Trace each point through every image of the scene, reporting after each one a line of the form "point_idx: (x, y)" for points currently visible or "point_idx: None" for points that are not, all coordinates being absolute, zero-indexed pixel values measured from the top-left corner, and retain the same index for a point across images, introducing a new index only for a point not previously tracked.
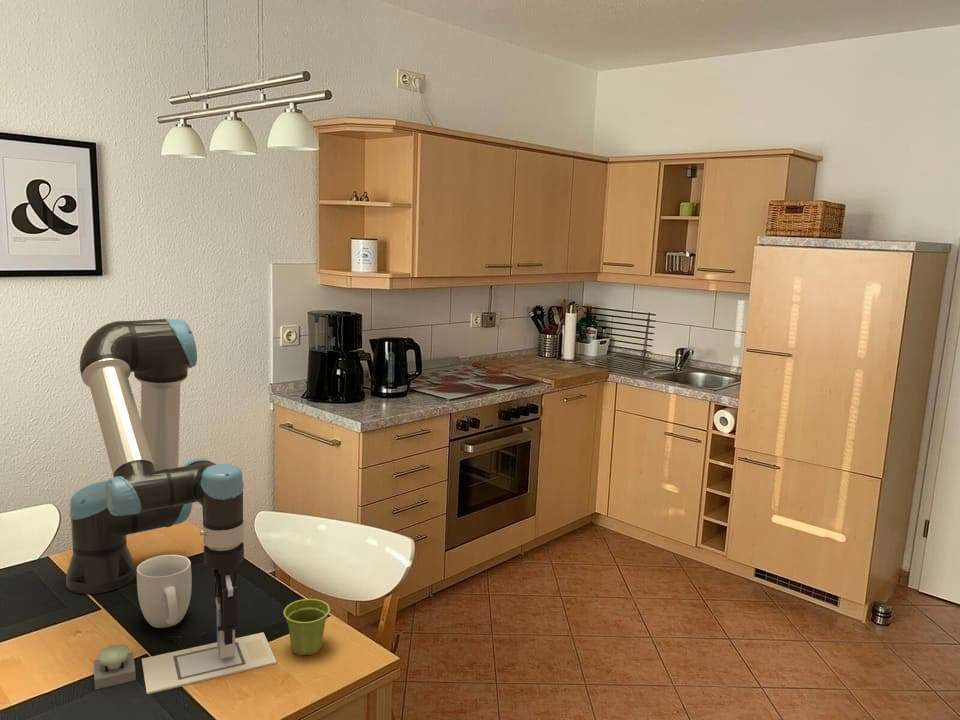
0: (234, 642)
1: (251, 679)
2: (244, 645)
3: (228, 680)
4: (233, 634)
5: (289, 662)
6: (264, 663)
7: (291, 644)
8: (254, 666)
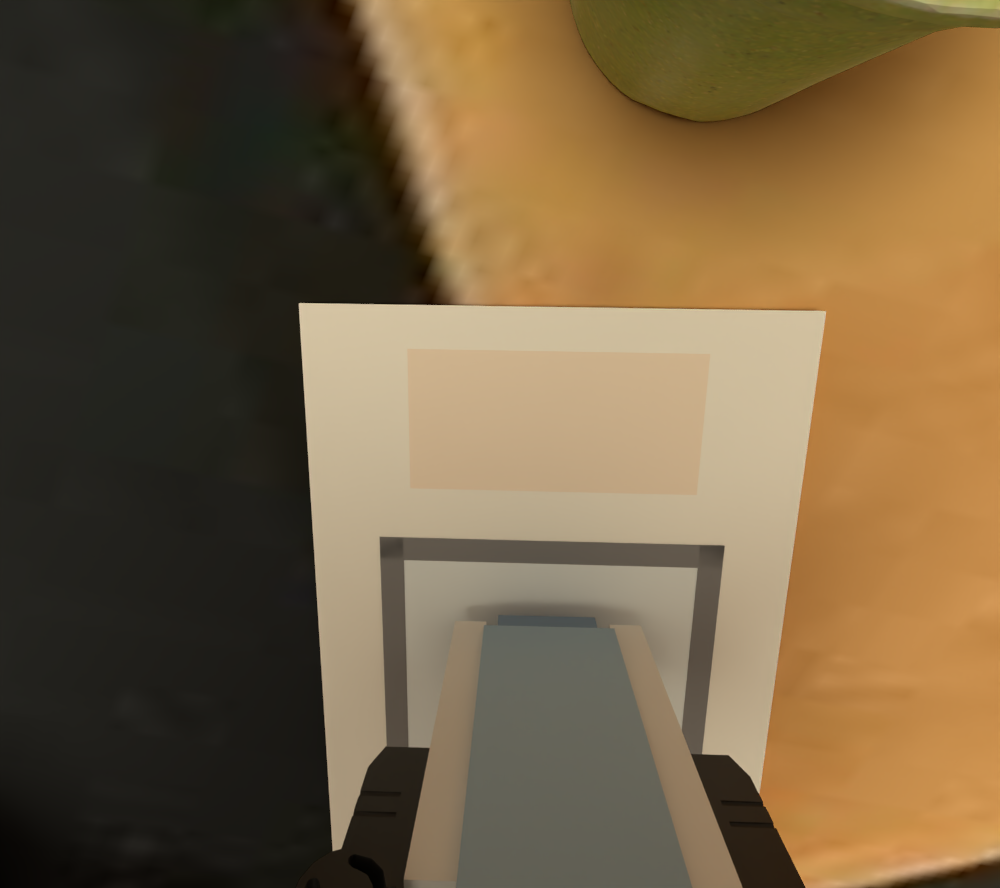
0: (669, 709)
1: (914, 538)
2: (450, 498)
3: (831, 678)
4: (704, 797)
5: (859, 198)
6: (795, 411)
7: (738, 107)
8: (792, 493)
